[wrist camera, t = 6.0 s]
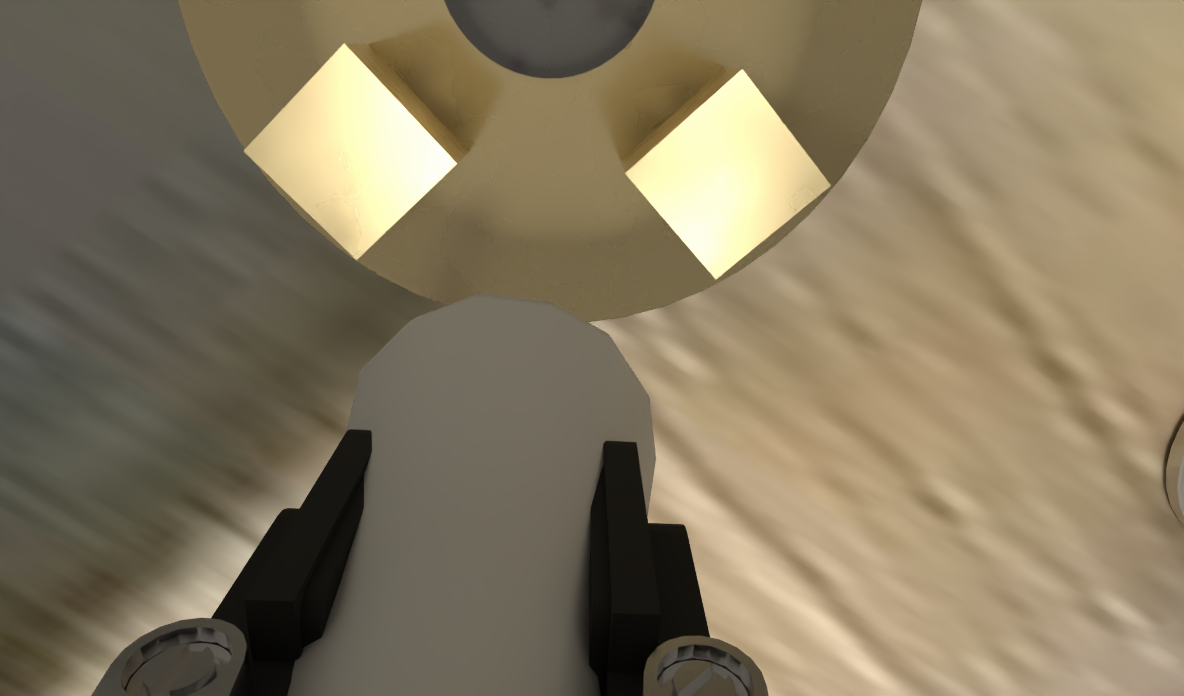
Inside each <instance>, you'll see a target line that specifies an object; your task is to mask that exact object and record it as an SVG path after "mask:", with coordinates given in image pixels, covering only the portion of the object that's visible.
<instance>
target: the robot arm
mask: <svg viewBox="0 0 1184 696" xmlns="http://www.w3.org/2000/svg"><path fill="white" fill-rule="evenodd" d="M371 452H372V432H371V430H358V429H349V430H348V431H347V432H346V434H345V435H344V437H343V438H342V440H341V442H340V443H339V445H338V447H337V448H336V450H335V452H334V453H333V455H332V456H331V458H330V460H329V461H328V463H327V465H326V466H325V468H324V470H323V471H322V473H321V474H320V476H319V478H318V479H317V481H316V483H315V484H314V486H313V488H312V489H311V491H310V492H309V494H308V496H307V497H306V499H305V501H304V502H303V504H302V506H301V507H300V509H294V508H287V509H284V510H282V511H281V512H280V514H279V515H278V516H277V517H276V519H275V521H274V522H273V524H272V525H271V527H270V528H269V530H268V531H267V533H266V534H265V536H264V538H263V539H262V541H261V542H260V544H259V545H258V547H257V548H256V550H255V551H254V553H253V554H252V556H251V558H250V559H249V561H248V562H247V564H246V565H245V567H244V568H243V570H242V571H241V573H240V574H239V576H238V578H237V579H236V581H235V582H234V584H233V585H232V587H231V588H230V590H229V591H228V593H227V595H226V596H225V598H224V599H223V601H222V602H221V604H220V605H219V607H218V608H217V610H216V611H215V613H214V615H213V616H212V618H196V619H188V620H181V621H178V622H174V623H171V624H168V625H165V626H161V627H159V628H157V629H155V630H153V631H151V632H149V633H147V634H145V635H143V636H141V637H140V638H138V639H137V640H136V641H134V642H133V643H132V644H130V645H129V646H128V647H126V648H125V649H124V650H123V651H122V652H121V653H120V654H119V655H118V657H117V658H116V659H115V660H114V661H113V663H112V664H111V665H110V667H109V668H108V670H107V671H106V673H105V675H104V676H103V678H102V679H101V681H100V683H99V684H98V686H97V687H96V689H95V690H94V692H93V694H92V695H91V696H287V694H288V690H289V687H290V684H291V679H292V672H293V668H294V663H295V660H297V659H299V658H300V656H301V654H302V651H303V648H304V647H305V646H307V645H309V644H311V643H313V642H315V641H316V640H318V639H320V638H322V635H323V632H324V629H325V626H326V623H327V620H328V618H329V615H330V612H331V609H332V606H333V603H334V600H335V597H336V594H337V591H338V588H339V585H340V582H341V579H342V576H343V573H344V569H345V566H346V563H347V560H348V557H349V553H350V550H351V547H352V544H353V541H354V537H355V534H356V531H357V528H358V525H359V521H360V518H361V515H362V512H363V509H364V472H365V470H366V468H367V464H368V461H369V458H370V455H371ZM603 455H604V464H603V467H602V470H601V472H600V476H599V479H598V483H597V487H596V490H595V494H594V498H593V501H592V505H591V523H590V614H589V666H590V667H591V669H592V670H593V671H594V672H595V673H596V675H597V676H598V680H599V686H600V692H601V696H768V691H767V686H766V683H765V680H764V678H763V675H762V672H761V671H760V669H759V668H758V667H757V666H756V664H755V663H754V662H753V660H752V659H751V658H750V657H748V656H747V655H746V654H745V653H743V652H742V651H741V650H739V649H738V648H737V647H735V646H732V645H730V644H728V643H726V642H724V641H721V640H719V639H714V638H710V635H709V630H708V626H707V621H706V617H705V612H704V608H703V603H702V599H701V594H700V589H699V585H698V580H697V576H696V571H695V567H694V562H693V558H692V553H691V548H690V544H689V539H688V535H687V531H686V528H685V526H684V525H682V524H658V523H648V519H647V512H646V505H645V498H644V491H643V484H642V477H641V470H640V463H639V456H638V449H637V443H636V442H625V441H605V442H604V443H603ZM1166 489H1167V493H1168V497H1169V501H1170V505H1171V507H1172V509H1173V510H1174V512H1175V514H1176V516H1177V518H1178V519H1179V521H1180V522H1181V523H1182V524H1183V525H1184V422H1183V423H1182V425H1181V426H1180V429H1179V431H1178V433H1177V435H1176V437H1175V440H1174V442H1173V444H1172V446H1171V450H1170V454H1169V459H1168V463H1167V467H1166Z"/></svg>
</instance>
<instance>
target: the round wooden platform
mask: <svg viewBox="0 0 1184 696" xmlns="http://www.w3.org/2000/svg"><path fill="white" fill-rule="evenodd" d="M178 3H179V6H180V9H181V12H182V16H183V19H184V22H185V25H186V28H187V32H188V35H189V38H190V41H191V44H192V48H193V50H194V53H195V55H196V57H197V59H198V62H199V64H200V66H201V69H202V71H203V73H204V75H205V78H206V80H207V82H208V84H209V87H210V89H211V91H212V94H213V96H214V98H215V100H216V101H217V103H218V105H219V107H220V108H221V110H222V112H223V114H224V115H225V117H226V119H227V120H228V122H229V124H230V126H231V127H232V129H233V131H234V133H235V134H236V136H237V138H238V139H239V141H240V143H241V144H242V145H243V147H244V148H245V150H244V152H245V153H246V154H247V155H248V156H249V157H250V158H251V159H252V160H253V161H254V162H255V163H256V164H257V166H258V167H259V168H260V170H261V171H262V172H263V174H264V175H265V177H266V178H267V179H268V181H269V182H270V183H271V184H272V185H273V186H274V187H275V188H276V190H277V191H278V192H279V193H280V194H281V195H282V196H283V197H284V198H285V199H286V200H287V201H288V202H289V204H290V205H291V206H292V207H293V208H294V209H295V210H296V211H297V212H298V213H299V214H300V215H301V216H302V217H303V218H304V219H305V220H306V221H307V222H308V223H309V224H311V225H312V226H313V227H314V228H315V229H317V230H318V231H319V232H320V233H321V234H322V235H324V236H325V237H326V238H327V239H328V240H329V241H331V242H332V243H333V244H334V245H335V246H336V247H338V248H339V249H340V250H342V251H343V252H345V253H346V254H348V255H349V256H351V257H352V258H354V259H355V260H357V261H358V262H360V263H361V264H363V265H364V266H366V267H367V268H369V269H370V270H372V271H373V272H375V273H376V274H378V275H380V276H382V277H384V278H386V279H388V280H390V281H392V282H394V283H396V284H398V285H399V286H401V287H403V288H405V289H407V290H409V291H411V292H413V293H415V294H418V295H420V296H423V297H426V298H428V299H431V300H434V301H437V302H439V303H442V304H445V305H450V304H453V303H455V302H458V301H461V300H463V299H466V298H469V297H471V296H474V295H477V294H479V293H483V294H491V295H500V296H508V297H517V298H525V299H533V300H542V301H550V302H552V303H554V304H555V305H557V306H559V307H561V308H563V309H564V310H566V311H568V312H570V313H572V314H573V315H575V316H577V317H579V318H581V319H582V320H584V321H586V322H591V321H599V320H606V319H614V318H621V317H626V316H629V315H633V314H637V313H641V312H645V311H648V310H652V309H656V308H660V307H663V306H666V305H668V304H671V303H673V302H676V301H678V300H681V299H683V298H686V297H688V296H691V295H693V294H696V293H698V292H701V291H703V290H705V289H707V288H709V287H711V286H712V285H714V284H716V283H718V282H720V281H722V280H723V279H725V278H727V277H729V276H731V275H732V274H734V273H736V272H738V271H740V270H741V269H743V268H744V267H746V266H747V265H748V264H750V263H751V262H753V261H754V260H755V259H757V258H758V257H759V256H761V255H762V254H764V253H765V252H766V251H768V250H769V249H771V248H772V247H773V246H775V245H776V244H777V243H779V242H780V241H781V240H782V239H783V238H784V237H785V236H786V235H787V234H788V233H789V232H791V231H792V230H793V229H794V228H795V227H796V226H797V225H798V224H799V223H800V222H802V221H803V220H804V219H805V218H806V217H807V216H808V215H809V214H810V213H811V212H812V211H813V210H814V209H815V207H816V206H817V205H818V204H819V203H820V202H821V201H822V199H823V198H824V197H825V196H826V195H827V194H828V192H829V191H830V190H831V189H832V188H833V187H834V185H835V184H836V183H837V182H838V181H839V180H840V179H841V177H842V176H843V174H844V173H845V171H846V170H847V168H848V167H849V166H850V164H851V163H852V161H853V160H854V158H855V157H856V155H857V154H858V152H859V151H860V149H861V148H862V146H863V145H864V143H865V142H866V141H867V139H868V138H869V136H870V134H871V132H872V130H873V128H874V126H875V124H876V122H877V120H878V118H879V117H880V115H881V113H882V111H883V109H884V107H885V105H886V103H887V101H888V99H889V97H890V96H891V94H892V91H893V89H894V86H895V83H896V81H897V78H898V76H899V73H900V71H901V68H902V65H903V63H904V60H905V58H906V55H907V53H908V50H909V47H910V45H911V41H912V37H913V33H914V29H915V26H916V22H917V18H918V14H919V10H920V7H921V3H922V0H178Z"/></svg>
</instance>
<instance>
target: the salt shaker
mask: <svg viewBox="0 0 1184 696" xmlns="http://www.w3.org/2000/svg"><path fill="white" fill-rule="evenodd" d="M349 429H358V430H371V432H372V452H371V455H370V458H369V461H368V464H367V468H366V470H365V472H364V509H363V512H362V515H361V518H360V521H359V525H358V528H357V531H356V534H355V537H354V541H353V544H352V547H351V550H350V553H349V557H348V560H347V563H346V566H345V569H344V573H343V576H342V579H341V582H340V585H339V588H338V591H337V594H336V597H335V600H334V603H333V606H332V609H331V612H330V615H329V618H328V620H327V623H326V626H325V629H324V632H323V635H322V638H320V639H318V640H316V641H315V642H313V643H311V644H309V645H307V646H305V647H304V648H303V651H302V654H301V656H300V658H299V659H297V660H295V663H294V668H293V672H292V679H291V684H290V687H289V690H288V694H287V696H601V692H600V686H599V680H598V676H597V675H596V673H595V672H594V671H593V670H592V669H591V667H590V666H589V614H590V523H591V505H592V501H593V498H594V494H595V490H596V487H597V483H598V479H599V476H600V472H601V470H602V467H603V464H604V455H603V443H604V442H605V441H625V442H636V443H637V449H638V456H639V463H640V470H641V477H642V484H643V491H644V498H645V505H646V512H647V515H648V509H649V502H650V495H651V488H652V481H653V475H654V468H655V461H656V455H655V445H654V436H653V427H652V417H651V408H650V399H649V396H648V394H647V393H646V391H645V389H644V388H643V386H642V385H641V383H640V381H639V380H638V378H637V377H636V375H635V374H634V372H633V371H632V369H631V368H630V366H629V365H628V363H627V362H626V360H625V358H624V357H623V355H622V354H621V352H620V351H619V349H618V348H617V346H616V345H615V343H614V342H613V340H612V339H611V337H610V335H609V334H607V333H606V332H604V331H602V330H600V329H598V328H597V327H595V326H593V325H591V324H590V323H588V322H586V321H584V320H582V319H581V318H579V317H577V316H575V315H573V314H572V313H570V312H568V311H566V310H564V309H563V308H561V307H559V306H557V305H555V304H554V303H552V302H550V301H542V300H533V299H525V298H517V297H508V296H500V295H491V294H483V293H479V294H477V295H474V296H471V297H469V298H466V299H463V300H461V301H458V302H455V303H453V304H450V305H447V306H445V307H442V308H440V309H437V310H434V311H432V312H429V313H426V314H424V315H421V316H418V317H416V318H415V319H413V320H412V321H410V322H408V323H407V324H406V325H405V326H404V327H403V328H402V329H401V330H400V331H399V332H398V333H397V334H396V335H395V336H394V337H393V338H392V339H391V340H390V341H389V342H388V343H387V344H386V345H385V346H384V347H383V348H382V349H381V350H380V351H379V352H378V353H377V354H376V355H375V356H374V357H373V358H372V359H371V360H370V361H369V362H368V363H367V364H366V365H365V366H364V367H363V368H362V369H361V370H360V374H359V378H358V383H357V387H356V392H355V396H354V400H353V405H352V409H351V414H350V418H349V422H348V427H347V431H348V430H349ZM347 431H346V432H347Z"/></svg>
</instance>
